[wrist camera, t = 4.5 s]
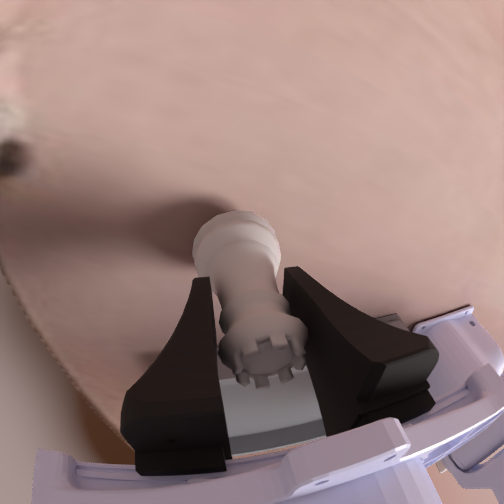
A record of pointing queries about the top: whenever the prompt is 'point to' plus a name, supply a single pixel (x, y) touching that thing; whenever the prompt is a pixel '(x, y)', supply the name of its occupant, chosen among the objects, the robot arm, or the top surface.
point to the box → (274, 409)
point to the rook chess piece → (250, 298)
